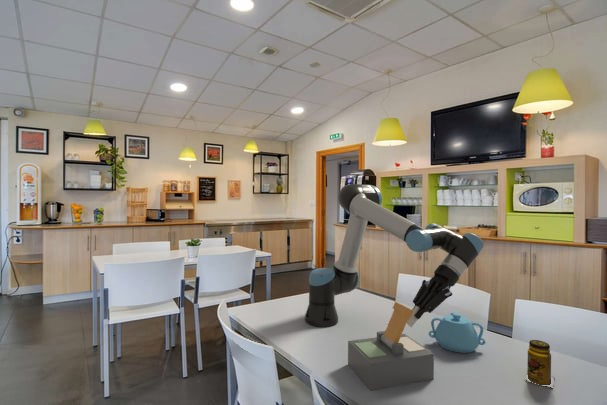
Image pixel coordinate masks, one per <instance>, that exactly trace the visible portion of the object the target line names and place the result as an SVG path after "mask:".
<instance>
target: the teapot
mask: <svg viewBox="0 0 607 405" xmlns="http://www.w3.org/2000/svg"><path fill="white" fill-rule="evenodd" d="M435 321H439V323H438V324H437V326H436V327H435ZM430 326H431V329H432V330H429V332H428V335H429V337H430V338H432V339H435V341H436V342H437V343H438V345H439V346H440V347H441V348H444V349H445V350H447V351H450V352H451V351H452V352H454V353H455V352H456V353H463V354H464V353H465V354H469V353H471V352H473V351H475V350H476V349H478V348H479V346H484V345H485V344H486V339H485V338H484V337H482V336H483V334H484V327H483V325H482V324H481V323H479V322H477V321H473V322H471V320H470V319H468V318H467V317H464V316H462V314H460V313H457V312H451V313H450V314H448V315H445V316H443V317H442V318H441V317H434V318H432V319H431V321H430ZM474 326H478V327H479V328H480V332H479V334H478V332H477V330H476V328H475V327H474Z"/></svg>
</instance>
